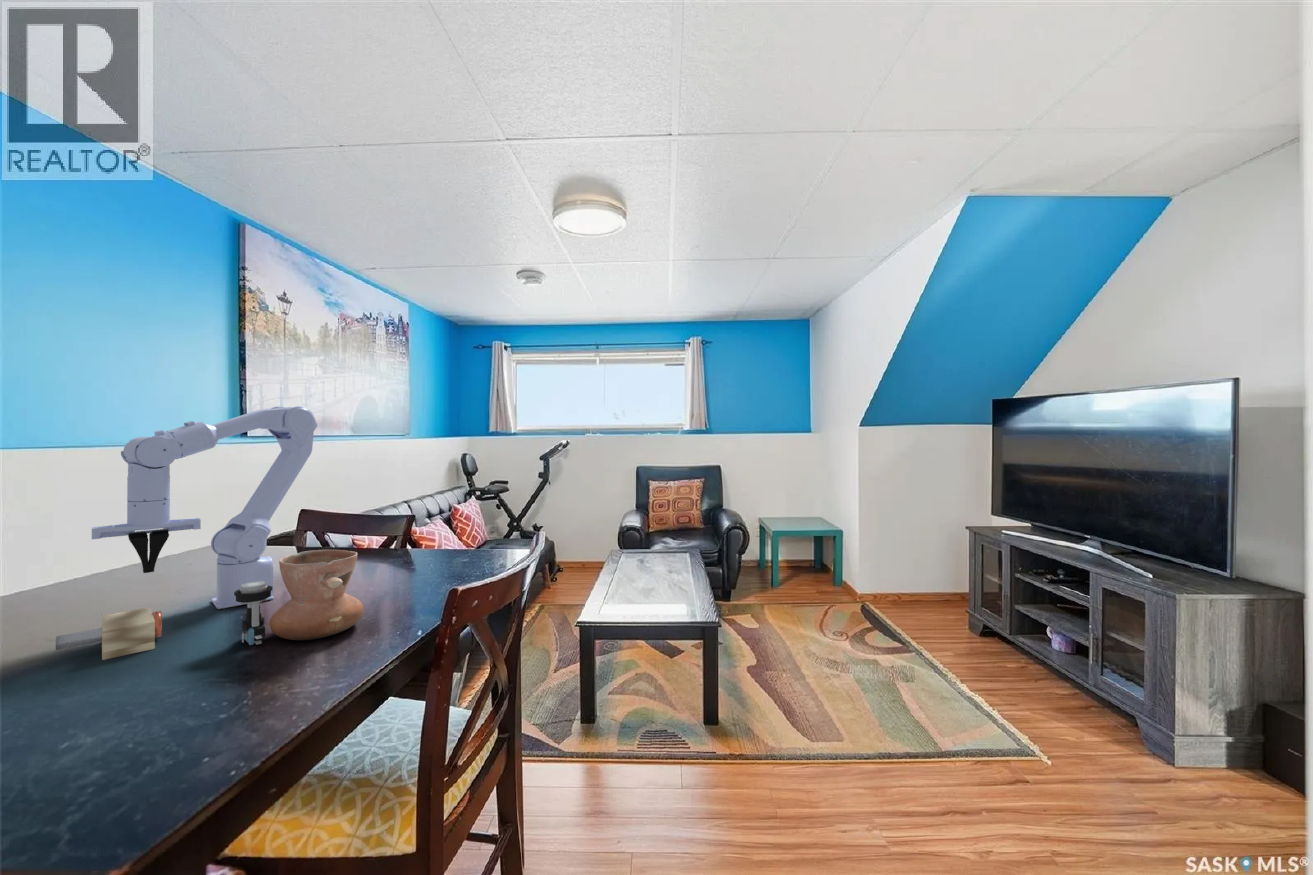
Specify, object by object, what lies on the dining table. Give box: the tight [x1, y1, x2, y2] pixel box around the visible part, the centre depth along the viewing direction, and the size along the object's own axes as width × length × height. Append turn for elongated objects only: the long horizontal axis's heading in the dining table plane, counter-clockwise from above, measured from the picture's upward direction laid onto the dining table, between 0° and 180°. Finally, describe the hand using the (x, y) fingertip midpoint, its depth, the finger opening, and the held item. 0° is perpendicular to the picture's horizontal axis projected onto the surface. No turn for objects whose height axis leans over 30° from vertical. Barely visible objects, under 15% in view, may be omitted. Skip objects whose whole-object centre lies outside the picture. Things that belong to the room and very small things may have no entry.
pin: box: [55, 610, 163, 651], centre depth 86 cm, size 12×4×4 cm, turn 138°
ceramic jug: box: [269, 549, 365, 641], centre depth 95 cm, size 18×14×14 cm
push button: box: [234, 581, 274, 646], centre depth 89 cm, size 7×5×10 cm
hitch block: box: [101, 606, 156, 661], centre depth 87 cm, size 6×10×5 cm, turn 48°
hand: (148, 571), depth 97 cm, fingers closed
